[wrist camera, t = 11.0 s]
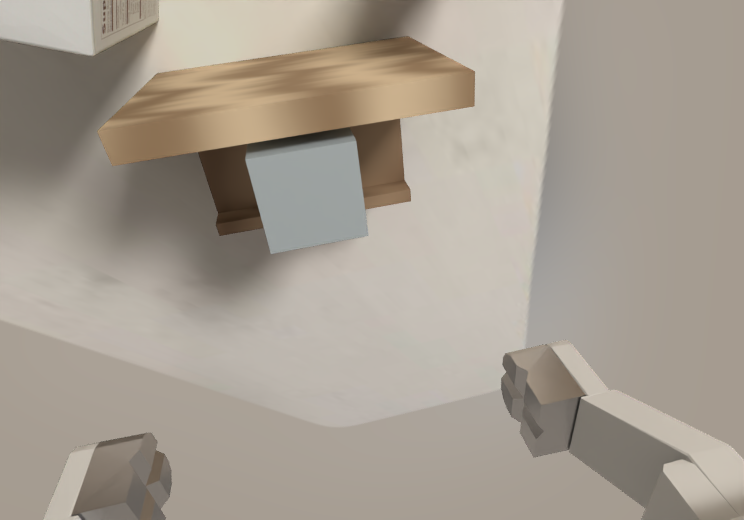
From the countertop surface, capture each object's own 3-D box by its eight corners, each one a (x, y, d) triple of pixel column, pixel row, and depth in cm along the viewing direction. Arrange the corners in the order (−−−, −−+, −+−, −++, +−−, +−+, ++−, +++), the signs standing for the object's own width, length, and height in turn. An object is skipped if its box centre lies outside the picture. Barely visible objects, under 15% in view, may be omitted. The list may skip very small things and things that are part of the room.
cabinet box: (274, 210, 30) (275, 270, 24) (251, 116, 26) (245, 159, 21) (351, 196, 30) (370, 252, 24) (337, 102, 27) (356, 140, 21)
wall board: (199, 197, 33) (169, 295, 24) (157, 73, 29) (96, 131, 19) (415, 159, 35) (472, 237, 25) (407, 36, 30) (474, 71, 20)
